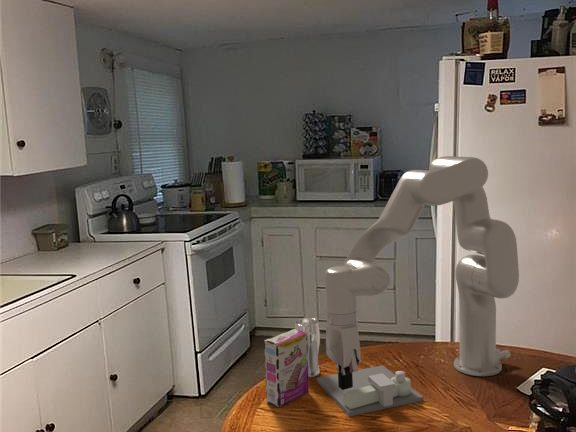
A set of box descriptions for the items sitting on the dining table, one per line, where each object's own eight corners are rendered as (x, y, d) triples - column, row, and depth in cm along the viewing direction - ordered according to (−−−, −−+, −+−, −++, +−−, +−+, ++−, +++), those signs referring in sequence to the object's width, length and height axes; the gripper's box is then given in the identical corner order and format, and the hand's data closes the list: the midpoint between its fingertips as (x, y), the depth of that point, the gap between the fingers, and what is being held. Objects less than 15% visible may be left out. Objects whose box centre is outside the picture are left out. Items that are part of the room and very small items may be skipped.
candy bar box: (280, 408, 137) (276, 344, 135) (265, 402, 141) (262, 340, 139) (310, 392, 145) (307, 331, 143) (296, 387, 149) (293, 327, 146)
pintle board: (382, 368, 158) (382, 347, 157) (424, 401, 137) (424, 377, 137) (316, 381, 152) (315, 359, 151) (350, 417, 131) (349, 392, 130)
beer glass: (319, 378, 153) (317, 325, 151) (294, 377, 155) (291, 325, 153) (322, 368, 160) (320, 317, 158) (298, 367, 161) (296, 317, 159)
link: (402, 385, 144) (402, 367, 143) (415, 393, 139) (414, 374, 138) (341, 402, 136) (341, 382, 136) (352, 410, 132) (351, 390, 131)
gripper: (315, 311, 143) (319, 379, 146) (343, 328, 130) (347, 403, 132) (340, 306, 146) (344, 373, 149) (371, 322, 132) (374, 396, 135)
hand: (345, 387), depth 140 cm, fingers closed
